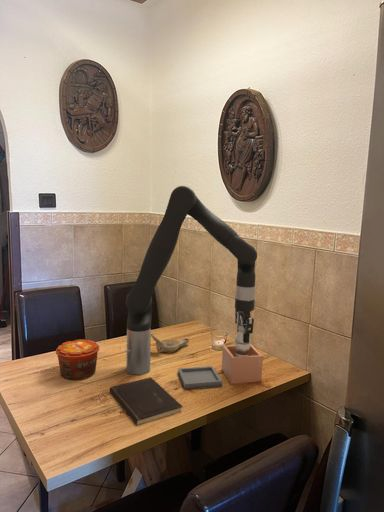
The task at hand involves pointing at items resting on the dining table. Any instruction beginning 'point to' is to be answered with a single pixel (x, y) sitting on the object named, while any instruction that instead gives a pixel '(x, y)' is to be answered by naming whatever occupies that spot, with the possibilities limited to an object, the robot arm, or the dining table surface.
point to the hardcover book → (144, 400)
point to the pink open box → (242, 365)
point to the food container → (77, 359)
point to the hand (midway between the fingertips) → (242, 339)
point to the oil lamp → (169, 344)
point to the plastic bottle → (241, 344)
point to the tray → (199, 377)
